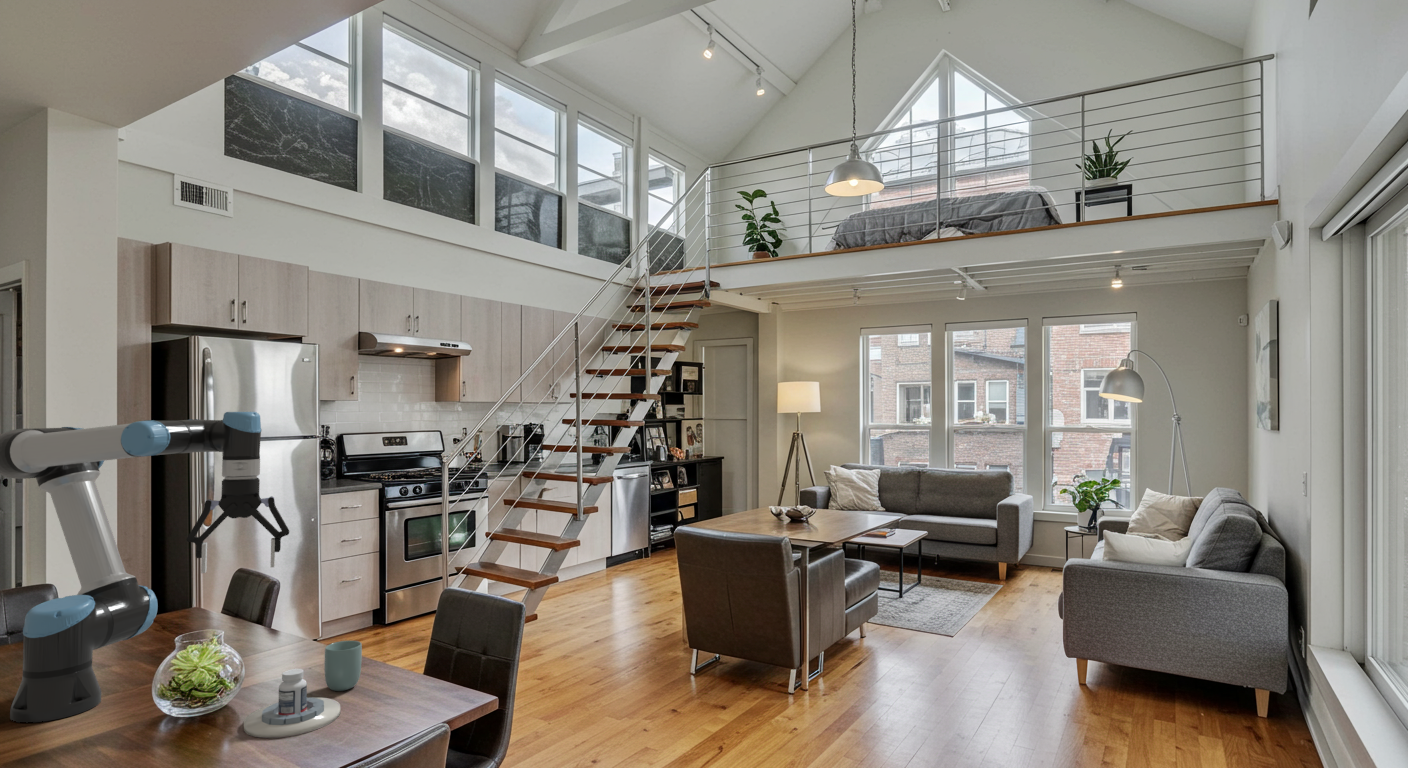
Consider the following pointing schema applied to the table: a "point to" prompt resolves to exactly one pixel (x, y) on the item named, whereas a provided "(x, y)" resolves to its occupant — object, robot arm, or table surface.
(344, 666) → the cup
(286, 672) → the pill bottle
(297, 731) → the tray
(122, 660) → the table surface
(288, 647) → the table surface
